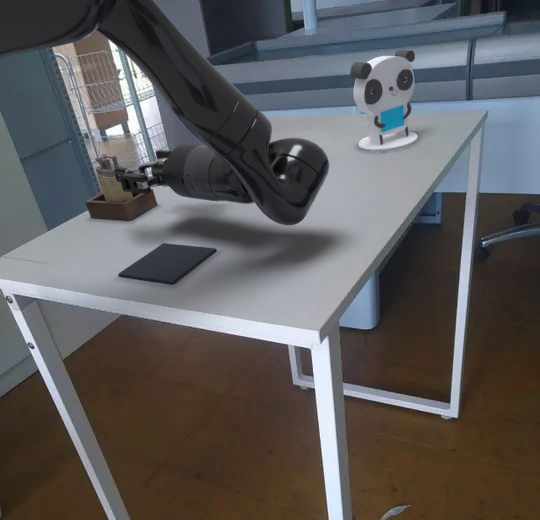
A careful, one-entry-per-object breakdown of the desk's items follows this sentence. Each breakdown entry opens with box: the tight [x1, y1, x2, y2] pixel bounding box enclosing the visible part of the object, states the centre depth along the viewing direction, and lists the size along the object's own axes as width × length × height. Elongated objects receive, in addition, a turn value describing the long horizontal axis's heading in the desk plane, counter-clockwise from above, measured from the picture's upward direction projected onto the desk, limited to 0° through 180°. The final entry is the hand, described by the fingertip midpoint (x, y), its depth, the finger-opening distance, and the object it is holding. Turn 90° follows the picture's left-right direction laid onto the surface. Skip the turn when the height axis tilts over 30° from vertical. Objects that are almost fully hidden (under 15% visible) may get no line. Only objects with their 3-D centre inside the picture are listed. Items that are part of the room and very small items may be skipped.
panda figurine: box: [350, 49, 419, 152], centre depth 103 cm, size 12×11×15 cm
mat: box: [117, 242, 217, 285], centre depth 77 cm, size 10×10×1 cm
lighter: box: [94, 154, 133, 202], centre depth 96 cm, size 7×4×10 cm, turn 42°
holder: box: [84, 188, 158, 221], centre depth 98 cm, size 7×10×3 cm
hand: (138, 165), depth 89 cm, fingers open, 8 cm apart
